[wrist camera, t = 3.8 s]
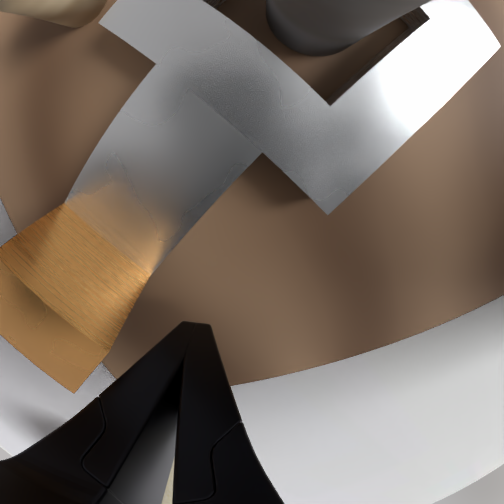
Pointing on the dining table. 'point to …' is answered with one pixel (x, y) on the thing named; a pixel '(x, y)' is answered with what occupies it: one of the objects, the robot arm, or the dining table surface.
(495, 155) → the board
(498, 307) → the dining table surface
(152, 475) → the robot arm
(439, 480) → the dining table surface
